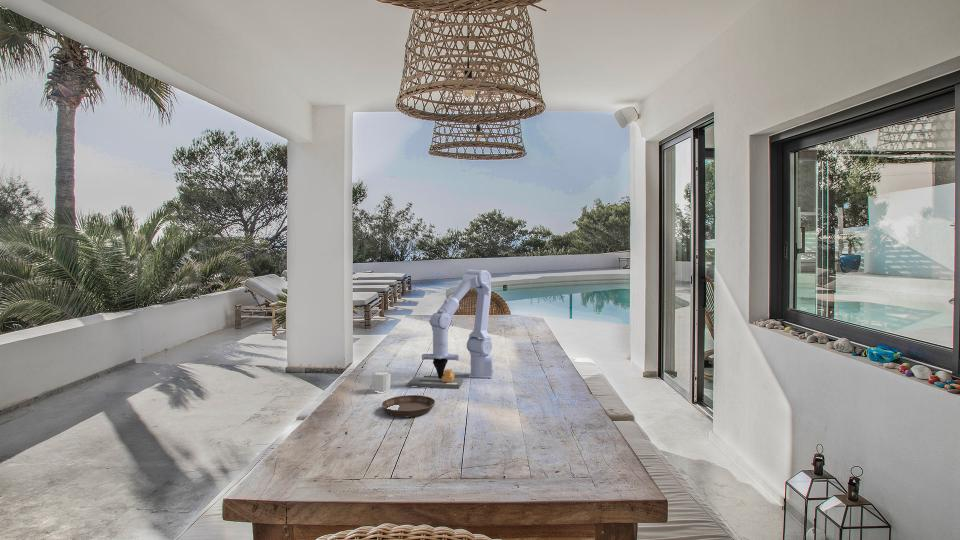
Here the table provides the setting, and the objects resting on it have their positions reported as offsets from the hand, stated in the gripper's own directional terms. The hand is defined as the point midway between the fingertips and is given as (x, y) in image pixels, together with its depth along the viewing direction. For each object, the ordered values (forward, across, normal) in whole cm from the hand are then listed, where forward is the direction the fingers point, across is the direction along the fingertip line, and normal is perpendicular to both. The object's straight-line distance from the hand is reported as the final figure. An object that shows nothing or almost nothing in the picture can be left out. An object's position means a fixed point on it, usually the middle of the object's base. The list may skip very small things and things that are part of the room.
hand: (440, 378), depth 230 cm
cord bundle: (+3, -3, +9) cm, 10 cm away
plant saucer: (+3, -4, -34) cm, 34 cm away
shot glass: (+3, -20, -12) cm, 23 cm away
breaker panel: (+3, -2, 0) cm, 3 cm away
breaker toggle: (+1, +3, 0) cm, 3 cm away
